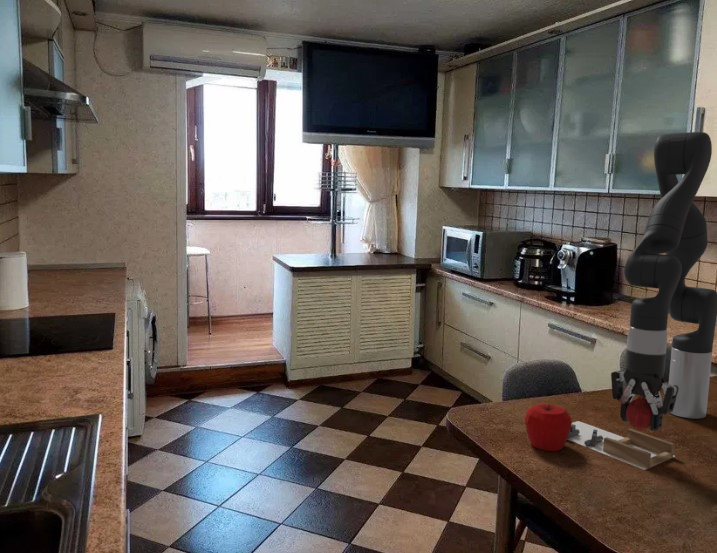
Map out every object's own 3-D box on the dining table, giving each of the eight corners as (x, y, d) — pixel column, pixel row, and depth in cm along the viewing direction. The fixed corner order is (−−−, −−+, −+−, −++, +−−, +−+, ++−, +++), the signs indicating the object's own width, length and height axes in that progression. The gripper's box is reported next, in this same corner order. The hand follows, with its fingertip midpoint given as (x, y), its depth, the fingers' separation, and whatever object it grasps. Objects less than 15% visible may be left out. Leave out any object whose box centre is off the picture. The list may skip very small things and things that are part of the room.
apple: (569, 445, 138) (572, 399, 136) (569, 462, 129) (573, 413, 127) (524, 439, 141) (527, 393, 139) (521, 455, 132) (524, 407, 130)
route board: (578, 425, 150) (579, 411, 149) (675, 461, 130) (676, 445, 130) (540, 438, 142) (541, 423, 141) (638, 478, 122) (639, 461, 122)
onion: (657, 437, 126) (661, 400, 125) (628, 434, 128) (631, 397, 127) (650, 426, 132) (653, 391, 131) (622, 424, 133) (624, 389, 132)
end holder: (629, 441, 138) (630, 428, 137) (673, 457, 129) (674, 443, 129) (603, 451, 132) (604, 438, 131) (647, 468, 124) (648, 454, 123)
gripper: (690, 353, 124) (682, 432, 126) (624, 339, 135) (619, 412, 138) (670, 358, 120) (663, 440, 122) (604, 343, 131) (599, 418, 133)
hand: (639, 425), depth 130 cm, fingers closed on onion, 6 cm apart
